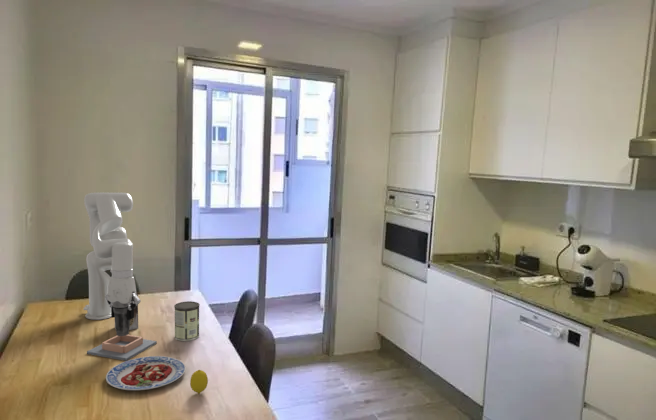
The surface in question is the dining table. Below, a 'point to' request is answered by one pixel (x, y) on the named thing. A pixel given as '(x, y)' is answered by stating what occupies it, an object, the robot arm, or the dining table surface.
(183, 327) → the coffee can
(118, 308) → the beverage cup
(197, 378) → the lemon
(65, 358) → the dining table surface
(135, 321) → the coffee box
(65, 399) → the dining table surface
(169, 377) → the ceramic plate
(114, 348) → the collar stand
